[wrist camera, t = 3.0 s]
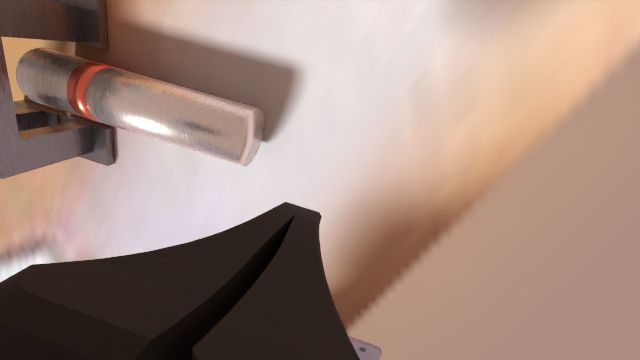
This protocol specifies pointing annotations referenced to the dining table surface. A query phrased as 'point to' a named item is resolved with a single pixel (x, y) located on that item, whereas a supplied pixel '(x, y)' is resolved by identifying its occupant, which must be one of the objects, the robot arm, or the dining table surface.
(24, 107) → the collar
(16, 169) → the grey holder stand
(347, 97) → the dining table surface
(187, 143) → the silver cylinder
